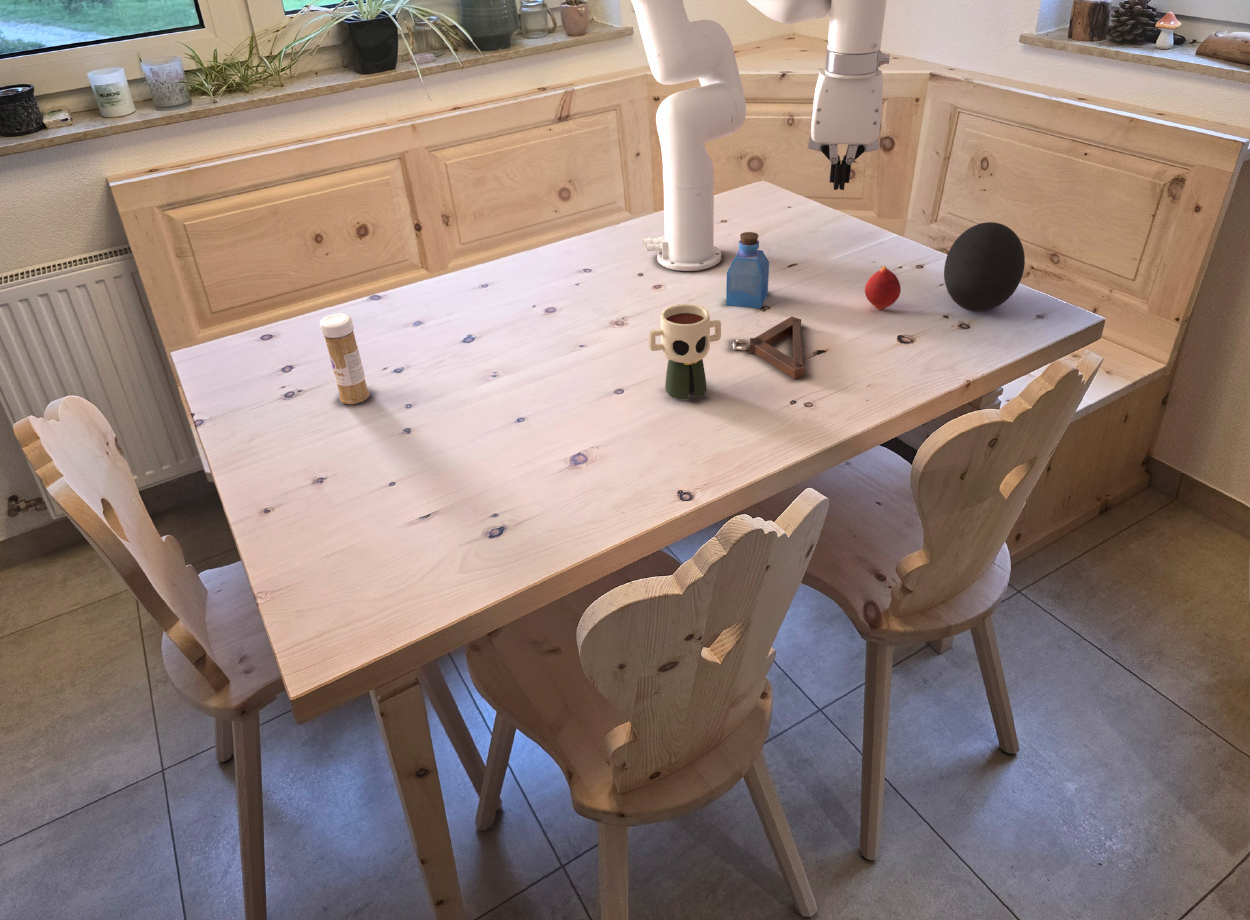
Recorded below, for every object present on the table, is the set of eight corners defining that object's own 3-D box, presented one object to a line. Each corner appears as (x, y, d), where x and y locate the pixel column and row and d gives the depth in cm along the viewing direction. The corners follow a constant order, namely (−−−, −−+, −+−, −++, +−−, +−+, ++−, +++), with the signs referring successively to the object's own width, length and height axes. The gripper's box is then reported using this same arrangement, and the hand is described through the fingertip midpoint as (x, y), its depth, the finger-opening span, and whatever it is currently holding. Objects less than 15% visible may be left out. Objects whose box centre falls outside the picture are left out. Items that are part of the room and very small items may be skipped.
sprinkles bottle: (334, 399, 138) (312, 321, 130) (358, 387, 141) (338, 309, 133) (352, 408, 136) (331, 329, 128) (376, 396, 138) (357, 317, 131)
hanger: (731, 378, 138) (731, 369, 137) (734, 324, 153) (734, 315, 152) (805, 379, 136) (805, 370, 135) (800, 324, 151) (801, 316, 150)
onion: (894, 302, 156) (900, 259, 152) (899, 316, 152) (906, 272, 147) (861, 302, 157) (865, 259, 152) (865, 316, 152) (870, 273, 148)
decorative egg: (969, 287, 160) (984, 205, 151) (1029, 310, 151) (1049, 225, 143) (922, 306, 154) (935, 222, 146) (982, 331, 146) (1000, 244, 137)
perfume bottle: (767, 294, 162) (770, 230, 155) (760, 308, 157) (763, 243, 150) (734, 290, 163) (735, 227, 157) (726, 305, 159) (727, 240, 152)
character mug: (657, 410, 131) (654, 330, 124) (645, 386, 137) (641, 309, 129) (728, 397, 133) (729, 318, 125) (712, 375, 139) (713, 298, 131)
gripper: (903, 56, 131) (885, 180, 142) (800, 56, 134) (790, 178, 144) (907, 68, 125) (889, 196, 136) (799, 68, 128) (790, 194, 138)
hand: (838, 186), depth 140 cm, fingers closed
